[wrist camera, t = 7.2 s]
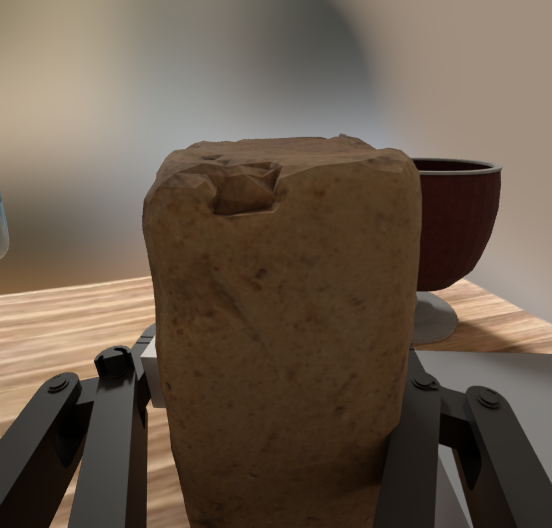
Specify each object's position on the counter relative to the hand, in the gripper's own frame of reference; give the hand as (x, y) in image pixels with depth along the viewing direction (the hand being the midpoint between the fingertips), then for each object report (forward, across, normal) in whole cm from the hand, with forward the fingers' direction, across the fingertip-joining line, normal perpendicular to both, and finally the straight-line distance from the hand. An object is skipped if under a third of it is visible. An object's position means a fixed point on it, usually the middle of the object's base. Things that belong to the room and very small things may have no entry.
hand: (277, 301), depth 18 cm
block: (-5, 0, -11) cm, 12 cm away
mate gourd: (+17, +13, -12) cm, 24 cm away
